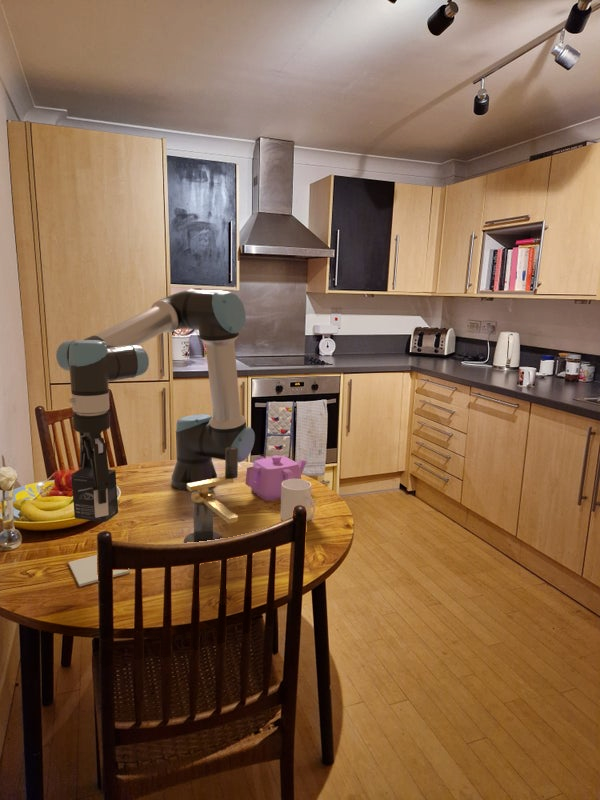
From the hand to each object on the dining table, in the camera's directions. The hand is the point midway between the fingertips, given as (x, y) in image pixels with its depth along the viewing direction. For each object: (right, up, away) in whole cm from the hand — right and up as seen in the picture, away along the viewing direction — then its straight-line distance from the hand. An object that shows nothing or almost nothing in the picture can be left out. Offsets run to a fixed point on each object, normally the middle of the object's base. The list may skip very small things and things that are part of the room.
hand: (96, 507), depth 117 cm
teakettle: (+38, -6, +53) cm, 66 cm away
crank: (+28, -2, +11) cm, 30 cm away
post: (+21, -13, +17) cm, 30 cm away
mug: (+46, -11, +32) cm, 57 cm away
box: (0, -2, 0) cm, 2 cm away
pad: (-1, -15, +3) cm, 15 cm away
